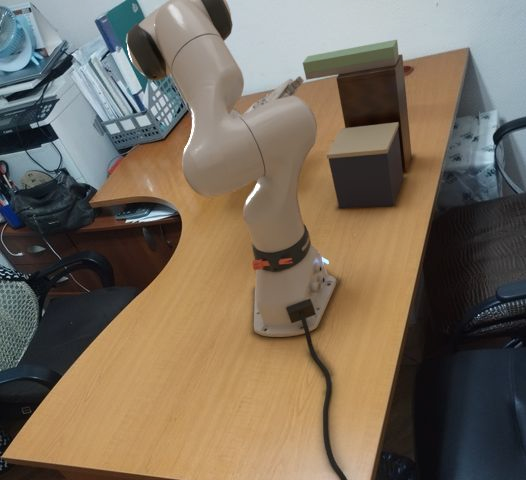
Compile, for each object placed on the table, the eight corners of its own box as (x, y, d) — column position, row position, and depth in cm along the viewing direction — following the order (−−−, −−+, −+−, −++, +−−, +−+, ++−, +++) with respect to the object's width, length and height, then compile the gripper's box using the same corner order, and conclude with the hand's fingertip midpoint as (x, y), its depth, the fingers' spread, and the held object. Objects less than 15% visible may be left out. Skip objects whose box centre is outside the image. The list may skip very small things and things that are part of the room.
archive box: (338, 208, 131) (326, 154, 121) (350, 181, 138) (340, 128, 128) (394, 206, 125) (386, 149, 114) (404, 178, 132) (398, 122, 121)
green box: (306, 79, 127) (302, 63, 124) (311, 72, 129) (307, 56, 126) (395, 65, 117) (393, 46, 114) (398, 57, 119) (397, 39, 116)
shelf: (354, 176, 140) (336, 78, 122) (361, 160, 144) (345, 64, 126) (405, 172, 133) (395, 68, 115) (411, 156, 138) (402, 54, 120)
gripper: (239, 128, 134) (272, 96, 124) (266, 93, 146) (299, 60, 135) (256, 147, 136) (290, 116, 126) (281, 111, 148) (315, 80, 138)
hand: (295, 87), depth 131 cm, fingers open, 8 cm apart
